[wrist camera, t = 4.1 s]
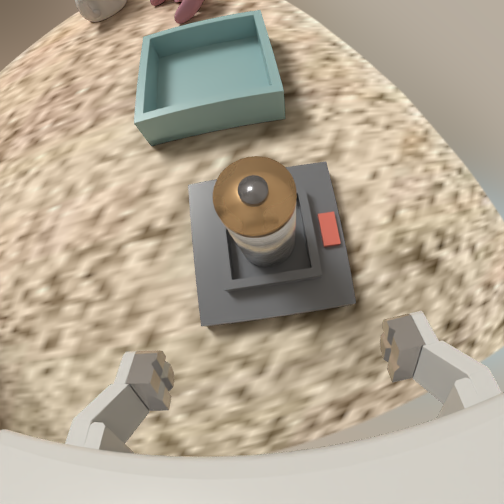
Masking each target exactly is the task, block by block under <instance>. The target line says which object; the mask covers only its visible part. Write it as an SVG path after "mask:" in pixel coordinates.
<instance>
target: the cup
mask: <svg viewBox="0 0 504 504" xmlns="http://www.w3.org/2000/svg"><path fill="white" fill-rule="evenodd" d="M75 2H76V6H77V8H78V10H79V12H80V13H81V15H82V16H83V17H84V18H85V19H87V20H89V21H91V22H98V21H102V20H104V19H107V18H109V17H111V16H112V15H114V14H116V13H117V12H118V11H120V10H121V9H122V8H123V7H124V6H125V4H126V2H127V0H75Z"/></svg>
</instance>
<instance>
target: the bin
mask: <svg viewBox="0 0 504 504" xmlns="http://www.w3.org/2000/svg"><path fill="white" fill-rule="evenodd" d="M281 119H285V103H284V90H283V86H282V82H281V79H280V75H279V71H278V68H277V64H276V61H275V57H274V54H273V50H272V47H271V44H270V40H269V37H268V34H267V30H266V27H265V24H264V21H263V17H262V14H261V11H260V10H257V11H250V12H244V13H238V14H232V15H227V16H222V17H217V18H212V19H207V20H203V21H199V22H194V23H190V24H186V25H183V26H179V27H175V28H171V29H168V30H164V31H161V32H158V33H154V34H151V35H148V36H145V37H143V44H142V51H141V58H140V66H139V75H138V84H137V93H136V104H135V117H134V124H135V125H136V126H137V128H138V129H139V130H140V132H141V133H142V134H143V136H144V137H145V138H146V140H147V141H148V142H149V144H150V145H151V146H153V145H157V144H161V143H165V142H169V141H173V140H177V139H182V138H186V137H190V136H195V135H199V134H204V133H208V132H213V131H218V130H223V129H228V128H233V127H239V126H244V125H250V124H256V123H262V122H268V121H275V120H281Z"/></svg>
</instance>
